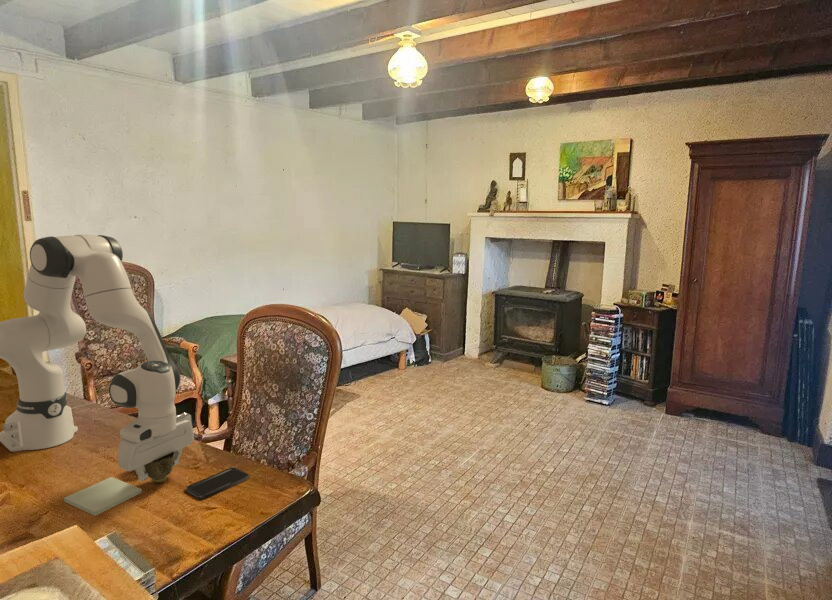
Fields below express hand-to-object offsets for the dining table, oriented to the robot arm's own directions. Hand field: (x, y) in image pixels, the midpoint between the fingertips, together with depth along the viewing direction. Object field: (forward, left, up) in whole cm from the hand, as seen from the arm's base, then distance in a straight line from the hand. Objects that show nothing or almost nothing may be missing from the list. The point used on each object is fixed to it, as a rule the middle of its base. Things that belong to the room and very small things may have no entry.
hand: (159, 471), depth 136 cm
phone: (+14, +7, -3) cm, 16 cm away
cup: (0, 0, -3) cm, 3 cm away
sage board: (-5, -12, -3) cm, 13 cm away
